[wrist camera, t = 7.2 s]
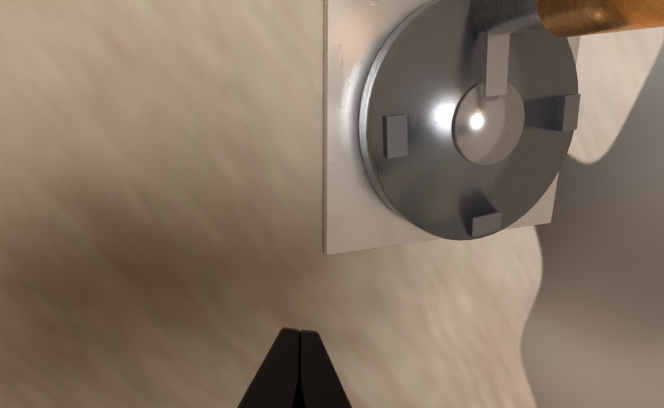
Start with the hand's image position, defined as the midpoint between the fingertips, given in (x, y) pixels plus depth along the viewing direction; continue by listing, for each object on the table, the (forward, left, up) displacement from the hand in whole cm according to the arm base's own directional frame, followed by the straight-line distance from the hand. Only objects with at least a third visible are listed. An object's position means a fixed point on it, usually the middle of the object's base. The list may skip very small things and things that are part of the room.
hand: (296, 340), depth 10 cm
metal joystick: (+4, -12, -10) cm, 17 cm away
